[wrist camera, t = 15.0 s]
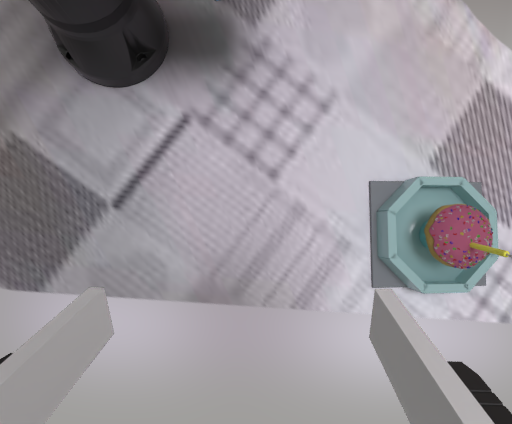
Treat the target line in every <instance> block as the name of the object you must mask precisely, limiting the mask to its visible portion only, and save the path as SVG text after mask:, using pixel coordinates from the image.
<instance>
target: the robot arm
mask: <svg viewBox="0 0 512 424" xmlns="http://www.w3.org/2000/svg"><path fill="white" fill-rule="evenodd" d="M29 1H30V2H31V3H32V4H33V6H35V8H36V9H37V10H38V11H39V12H40V13H41V14H42V15H43V16H44V19H45V21H46V23H47V25H48V27H49V30H50V32H51V34H52V36H53V38H54V41H55V43H56V45H57V47H58V49H59V51H60V52H61V54H62V55H63V56H64V58H65V59H66V60H67V61H68V62H69V63H70V64H71V65H72V66H73V67H74V68H75V69H76V70H77V71H78V72H79V73H80V74H81V75H83V76H84V77H85V78H87V79H89V80H90V81H93V82H95V83H97V84H100V85H104V86H110V87H123V86H129V85H133V84H136V83H139V82H141V81H143V80H145V79H146V78H148V77H149V76H150V75H152V74H153V73H154V72H155V71H156V70H157V69H158V67H159V66H160V65H161V63H162V62H163V60H164V58H165V55H166V52H167V49H168V42H169V35H168V28H167V25H166V22H165V19H164V16H163V13H162V11H161V8H160V6H159V5H158V3H157V1H156V0H29ZM215 1H218V0H215ZM113 334H114V331H113V326H112V321H111V317H110V313H109V308H108V303H107V298H106V294H105V289H104V287H89V288H88V289H87V290H86V291H84V292H83V293H82V294H81V295H80V296H79V297H78V298H76V299H75V300H74V301H73V302H72V303H71V304H69V305H68V306H67V307H66V308H65V309H64V310H63V311H61V312H60V313H59V314H58V315H57V316H56V317H54V318H53V319H52V320H51V321H50V322H49V323H48V324H46V325H45V326H44V327H43V328H42V329H41V330H40V331H38V332H37V333H36V334H35V335H34V336H33V337H31V338H30V339H29V340H28V341H27V342H26V343H25V344H23V345H22V346H21V347H20V348H19V349H18V350H16V352H14V353H10V354H8V355H6V356H5V357H3V358H1V359H0V424H45V422H46V421H47V420H48V418H49V417H50V416H51V415H52V413H53V412H54V411H55V409H56V408H57V407H58V406H59V404H60V403H61V402H62V400H63V399H64V398H65V396H66V395H67V394H68V392H69V391H70V390H71V389H72V387H73V386H74V385H75V383H76V382H77V381H78V380H79V378H80V377H81V375H82V374H83V373H84V372H85V370H86V369H87V368H88V367H89V365H90V364H91V363H92V361H93V360H94V359H95V357H96V356H97V355H98V353H99V352H100V351H101V350H102V348H103V347H104V346H105V344H106V343H107V342H108V340H109V339H110V338H111V337H112V335H113ZM369 338H370V340H371V342H372V344H373V346H374V348H375V351H376V353H377V355H378V357H379V359H380V361H381V363H382V365H383V367H384V369H385V372H386V374H387V376H388V377H389V380H390V382H391V384H392V386H393V388H394V390H395V392H396V394H397V397H398V399H399V401H400V403H401V405H402V407H403V409H404V411H405V413H406V415H407V418H408V420H409V422H410V424H512V414H511V413H510V411H509V410H508V409H507V408H506V407H505V406H503V404H502V402H501V401H500V400H499V399H498V397H497V396H496V395H495V394H494V393H492V392H491V389H490V388H489V387H488V386H487V384H485V382H484V381H483V380H482V379H481V377H480V376H479V375H478V374H477V373H475V372H474V371H473V370H471V369H470V368H469V367H467V366H466V365H465V364H463V363H462V362H447V361H446V360H445V358H444V357H443V356H442V354H441V353H440V352H439V350H438V349H437V348H436V347H435V345H434V344H433V343H432V341H431V340H430V339H429V337H428V336H427V335H426V333H425V332H424V331H423V330H422V328H421V327H420V326H419V325H418V323H417V322H416V320H415V319H414V318H413V316H412V315H411V314H410V313H409V311H408V310H407V309H406V307H405V306H404V305H403V303H402V302H401V301H400V299H399V298H398V297H397V296H396V294H395V293H394V292H393V290H392V289H375V293H374V302H373V310H372V319H371V327H370V335H369Z"/></svg>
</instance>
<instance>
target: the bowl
mask: <svg viewBox="0 0 512 424" xmlns="http://www.w3.org/2000/svg"><path fill="white" fill-rule="evenodd" d="M452 204H466V205H469V206H472V207H475V208H476V209H478V210H480V211H481V213H482V214H483V215H484V216H485V217H487V218H488V219H489V222H490V225H491V228H492V229H493V230H492V232H493V234H492V235H493V241H492V243H493V245H492V247H493V248H496V249H498V232H497V212H496V211H495V208H494V207H493V206H492V205H491V204H490V203H489V202H488V201H487V200H486V199H485V198H484V197H483V196H482V195H481V194H480V193H479V192H478V191H477V190H476V189H475V188H474V187H473V186H472V185H471V184H470V183H469V182H468V181H467V180H466V179H465V178H463V177H416V178H413V179H409V180H406V181H405V182H404V183H403V184H402V185H401V186H400V187H399V188H398V189H397V190H396V191H395V192H394V193H393V194H392V195H391V196H390V197H389V199H388V200H387V201H386V202H385V203H384V204H383V205H382V206H381V207H380V208H379V209H378V210H377V212H376V216H377V254H378V257H379V258H380V259H381V260H382V261H383V262H384V263H385V264H386V265H387V266H388V267H389V268H390V269H391V271H392V272H393V273H394V274H395V275H396V276H397V277H398V278H399V279H400V280H401V281H402V282H403V283H404V284H405V285H406V286H407V287H408V288H410V289H413V290H416V291H419V292H421V293H462V292H470V290H471V289H472V288H473V287H474V286H475V285H476V283H477V282H478V281H479V280H480V279H481V278H482V276H483V275H484V274H485V273H486V272H487V271H488V270H489V268H490V267H491V266H492V265H493V264H494V263H495V261H496V260H497V259H498V257H499V255H496V254H493V253H489V254H488V255H487V256H485V257H486V258H485V257H484V258H485V259H483V260H481V261H480V263H478V264H476V265H475V267H471V268H467V270H465V269H459V268H454V267H450V266H446V265H444V264H442V263H441V262H439V261H438V260H436V259H435V258H434V257H433V256H432V255H431V253H430V251H429V250H428V249H427V248H425V247H424V246H423V244H422V243H421V241H420V237H419V232H420V228H421V226H422V225H423V224H424V223H425V222H426V221H428V220H429V219H430V217H431V215H432V214H433V213H434V212H435V211H436V210H437V209H438V208H439V207H441V206H444V205H452Z"/></svg>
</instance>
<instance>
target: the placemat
mask: <svg viewBox="0 0 512 424" xmlns="http://www.w3.org/2000/svg"><path fill="white" fill-rule="evenodd" d="M403 183H404V181H369V193H370V233H371V273H372V287H373V288H384V287H407V286H406V285H405V284H404V283H403V282H402V281H401V280H400V279H399V278H398V277H397V276H396V275H395V274H394V273H393V272H392V271H391V269H390V268H389V267H388V266H387V265H386V264H385V263H384V262H383V261H382V260H381V259H380V258H379V257H378V254H377V216H376V212H377V210H378V209H379V208H380V207H381V206H382V205H383V204H384V203H385V202H386V201H387V200H388V199H389V197H390V196H391V195H392V194H393V193H394V192H395V191H396V190H397V189H398V188H399V187H400V186H401V185H402V184H403ZM469 183H470V184H471V185H472V186H473V187H474V188H475V189H476V190H477V191H478V192H479V193H480V194H481V195H482V188H481V182H469ZM475 286H486V273H485V274H484V275H483V276H482V278H481V279H480V280H479V281H478V282H477V283H476V285H475Z"/></svg>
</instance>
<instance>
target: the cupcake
mask: <svg viewBox="0 0 512 424" xmlns="http://www.w3.org/2000/svg"><path fill="white" fill-rule="evenodd" d="M492 230H493V229H492V228H491V225H490V222H489V219H488V218H487V217H485V216H484V215H483V214H482V213H481V211H480V210H478V209H476V208H475V207H472V206H469V205H466V204H452V205H444V206H441V207H439V208H438V209H437V210H436V211H435V212H434V213H433V214H432V215H431V217H430V219H429V220H428V221H426V222H425V223H424V224H423V225H422V226H421V228H420V232H419V237H420V241H421V243H422V244H423V246H424V247H425V248H427V249H428V250H429V251H430V253H431V255H432V256H433V257H434V258H435V259H436V260H438V261H439V262H441V263H442V264H444V265H446V266H450V267H454V268H459V269H465V270H467V268H471V267H475V265H476V264H478V263H480V261H481V260H483V259H485V258H486V257H485V256H487V255H488V254H489V253H493V254H496V255H500V256H503V257H508V256H509V257H512V255H509V252H508V251H504V250H500V249H496V248H493V247H492V245H493V243H492V241H493V235H492V234H493V232H492ZM484 257H485V258H484Z"/></svg>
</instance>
